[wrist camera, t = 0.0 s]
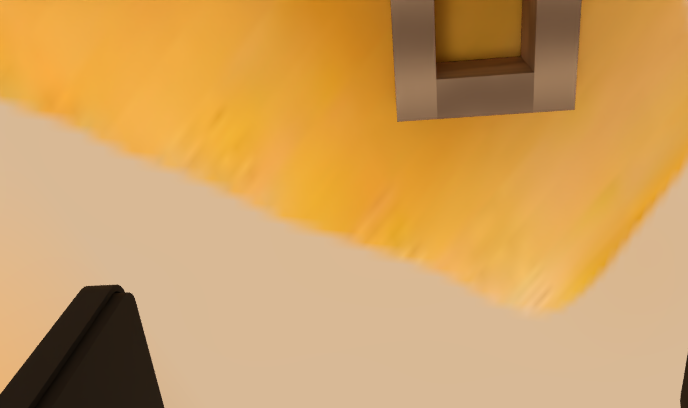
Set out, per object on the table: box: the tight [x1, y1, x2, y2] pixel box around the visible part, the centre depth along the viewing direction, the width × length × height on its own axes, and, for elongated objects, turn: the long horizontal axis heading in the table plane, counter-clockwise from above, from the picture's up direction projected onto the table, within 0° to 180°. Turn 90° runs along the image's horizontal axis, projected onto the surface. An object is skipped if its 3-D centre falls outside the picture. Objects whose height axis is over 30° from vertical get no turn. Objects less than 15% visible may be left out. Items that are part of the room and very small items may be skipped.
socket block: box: [391, 0, 582, 122], centre depth 37 cm, size 10×10×4 cm
